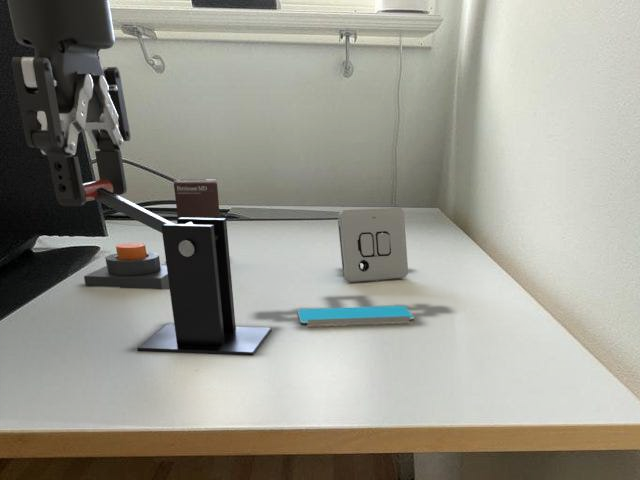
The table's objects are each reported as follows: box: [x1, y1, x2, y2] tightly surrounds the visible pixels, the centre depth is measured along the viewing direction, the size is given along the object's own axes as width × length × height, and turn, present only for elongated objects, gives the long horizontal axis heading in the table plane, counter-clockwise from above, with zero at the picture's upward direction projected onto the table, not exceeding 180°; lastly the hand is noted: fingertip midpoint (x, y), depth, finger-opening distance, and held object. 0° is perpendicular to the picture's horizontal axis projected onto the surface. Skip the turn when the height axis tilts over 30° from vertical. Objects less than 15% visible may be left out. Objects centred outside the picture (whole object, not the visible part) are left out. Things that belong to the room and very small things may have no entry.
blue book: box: [297, 305, 415, 328], centre depth 74 cm, size 20×12×2 cm, turn 99°
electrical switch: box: [337, 207, 409, 283], centre depth 92 cm, size 9×5×9 cm, turn 110°
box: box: [173, 178, 221, 219], centre depth 95 cm, size 6×4×12 cm
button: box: [115, 242, 147, 260], centre depth 85 cm, size 4×4×2 cm
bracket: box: [136, 217, 273, 357], centre depth 62 cm, size 11×8×12 cm
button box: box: [83, 251, 170, 290], centre depth 86 cm, size 10×8×4 cm
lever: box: [83, 179, 219, 244], centre depth 59 cm, size 12×6×2 cm, turn 84°
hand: (94, 199), depth 59 cm, fingers open, 8 cm apart
